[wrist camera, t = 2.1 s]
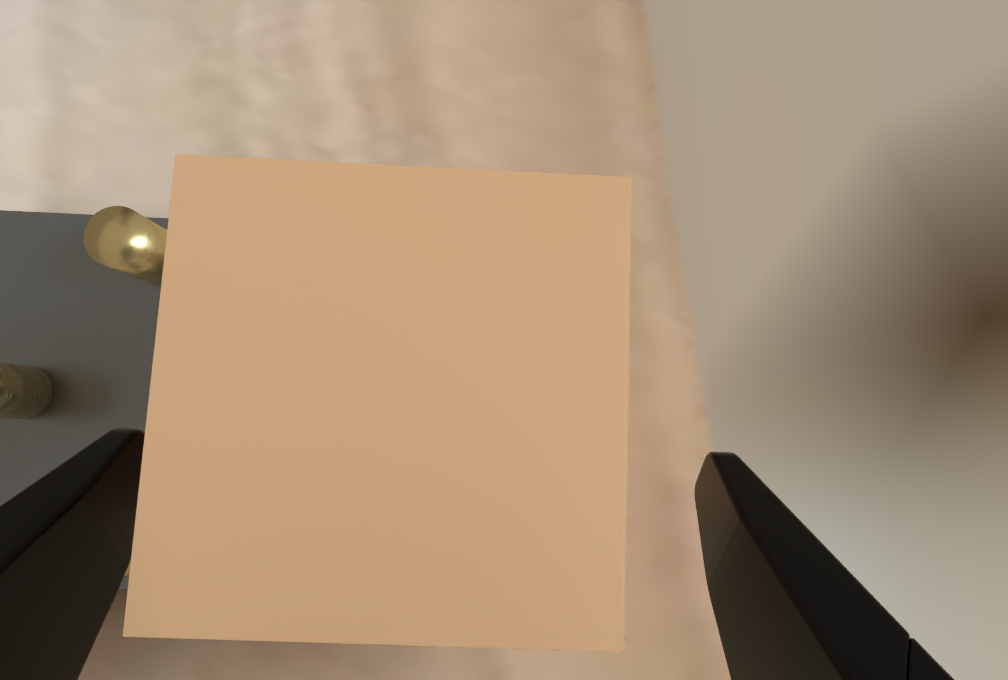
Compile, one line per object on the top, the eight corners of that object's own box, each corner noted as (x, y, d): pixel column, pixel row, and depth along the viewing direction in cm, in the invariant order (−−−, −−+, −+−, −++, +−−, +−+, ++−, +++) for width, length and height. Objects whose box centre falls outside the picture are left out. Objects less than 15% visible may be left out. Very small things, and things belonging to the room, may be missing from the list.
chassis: (342, 586, 18) (302, 633, 14) (-25, 574, 18) (-172, 619, 14) (366, 237, 19) (335, 191, 15) (24, 221, 19) (-97, 169, 15)
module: (527, 489, 19) (625, 652, 6) (375, 483, 18) (122, 636, 6) (532, 339, 19) (630, 178, 6) (384, 332, 19) (175, 154, 6)
